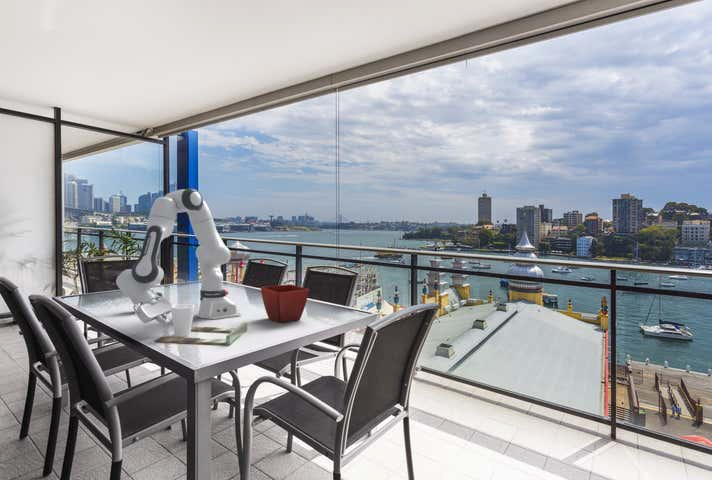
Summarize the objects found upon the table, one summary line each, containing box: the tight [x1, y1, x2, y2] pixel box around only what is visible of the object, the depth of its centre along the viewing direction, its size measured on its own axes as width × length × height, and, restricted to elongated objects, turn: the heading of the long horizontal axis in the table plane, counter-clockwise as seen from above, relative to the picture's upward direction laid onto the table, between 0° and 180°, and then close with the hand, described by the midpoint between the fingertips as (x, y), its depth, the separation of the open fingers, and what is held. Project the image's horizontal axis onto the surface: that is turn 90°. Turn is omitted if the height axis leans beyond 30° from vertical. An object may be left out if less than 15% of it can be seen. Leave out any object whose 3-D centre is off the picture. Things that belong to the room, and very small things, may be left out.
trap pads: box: [182, 326, 218, 342], centre depth 166 cm, size 6×22×1 cm, turn 178°
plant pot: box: [260, 284, 309, 324], centre depth 201 cm, size 19×19×17 cm
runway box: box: [154, 321, 248, 346], centre depth 166 cm, size 32×22×4 cm
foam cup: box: [170, 303, 195, 338], centre depth 166 cm, size 10×9×13 cm
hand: (167, 323), depth 166 cm, fingers closed
